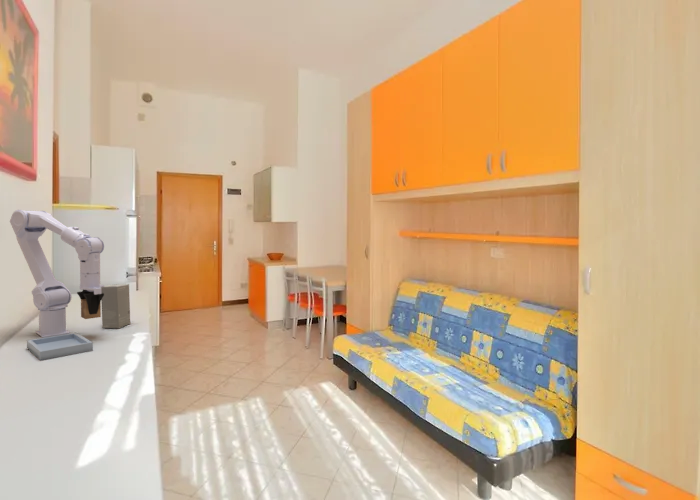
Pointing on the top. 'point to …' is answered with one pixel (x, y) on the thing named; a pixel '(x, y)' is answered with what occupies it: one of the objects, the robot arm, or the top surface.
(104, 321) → the skincare box
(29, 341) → the tray
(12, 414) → the top surface
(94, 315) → the walnut block
